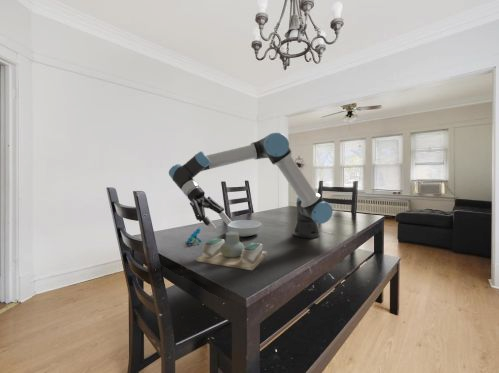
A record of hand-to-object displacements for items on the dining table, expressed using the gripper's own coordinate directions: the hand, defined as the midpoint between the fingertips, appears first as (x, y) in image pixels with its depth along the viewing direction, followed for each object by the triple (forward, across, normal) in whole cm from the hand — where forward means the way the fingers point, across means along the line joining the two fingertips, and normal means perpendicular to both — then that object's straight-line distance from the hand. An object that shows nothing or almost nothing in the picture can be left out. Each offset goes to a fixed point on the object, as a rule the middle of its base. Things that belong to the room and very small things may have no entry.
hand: (222, 226), depth 103 cm
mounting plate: (+13, 0, -6) cm, 14 cm away
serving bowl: (+6, -37, -14) cm, 40 cm away
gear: (-8, -13, -28) cm, 32 cm away
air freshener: (+12, 0, -6) cm, 14 cm away
